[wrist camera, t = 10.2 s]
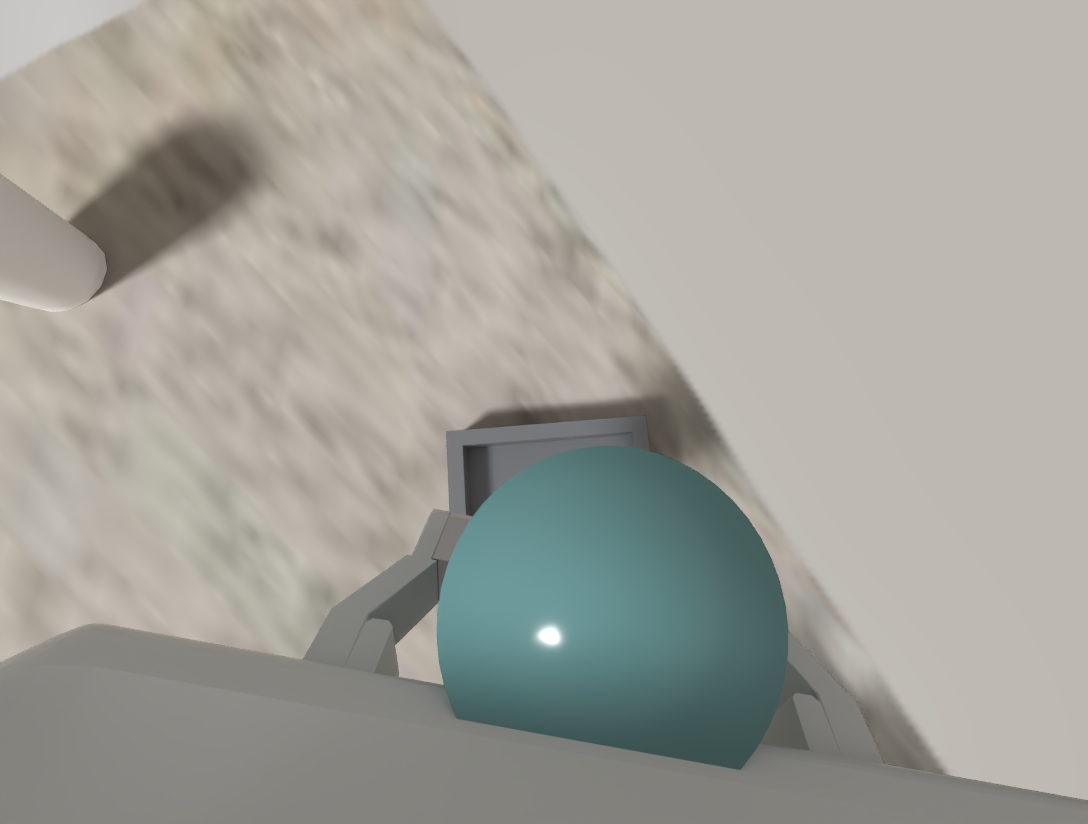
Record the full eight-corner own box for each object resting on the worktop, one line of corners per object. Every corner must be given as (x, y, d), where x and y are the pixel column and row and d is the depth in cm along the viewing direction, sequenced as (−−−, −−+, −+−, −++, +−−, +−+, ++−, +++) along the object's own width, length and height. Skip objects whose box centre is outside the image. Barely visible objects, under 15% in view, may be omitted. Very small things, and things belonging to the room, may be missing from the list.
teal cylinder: (646, 612, 18) (820, 805, 7) (502, 625, 17) (442, 843, 7) (629, 468, 19) (755, 434, 8) (494, 478, 18) (431, 459, 8)
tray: (659, 614, 28) (673, 628, 25) (464, 632, 28) (455, 649, 25) (635, 422, 31) (645, 415, 28) (455, 437, 30) (446, 431, 27)
